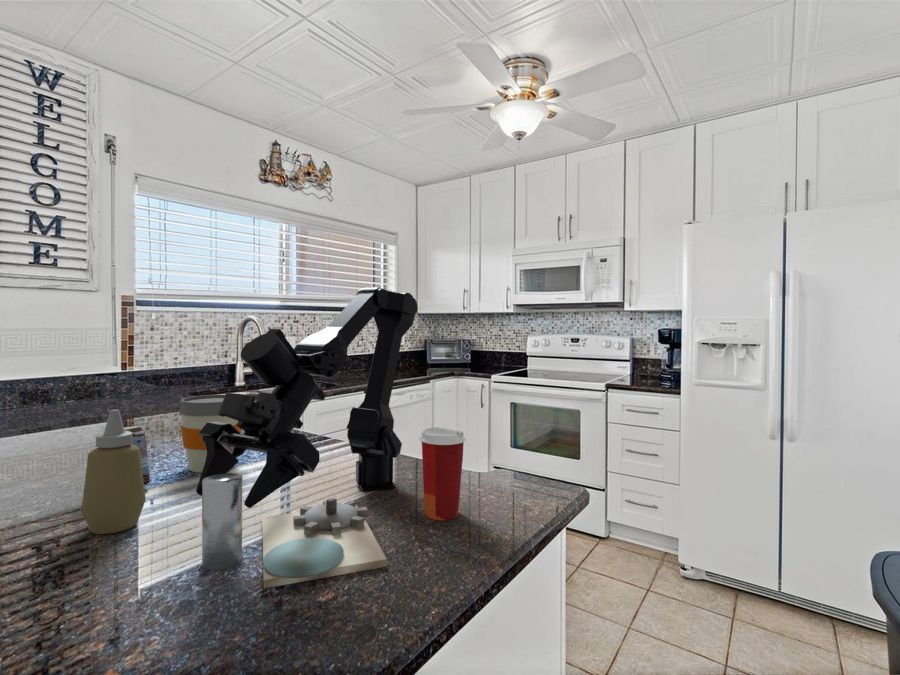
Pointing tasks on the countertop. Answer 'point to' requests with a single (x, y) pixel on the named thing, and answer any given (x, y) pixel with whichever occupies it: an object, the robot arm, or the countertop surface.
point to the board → (318, 544)
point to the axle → (221, 521)
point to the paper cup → (442, 471)
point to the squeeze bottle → (113, 480)
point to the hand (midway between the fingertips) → (221, 500)
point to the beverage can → (141, 450)
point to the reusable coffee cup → (200, 426)
